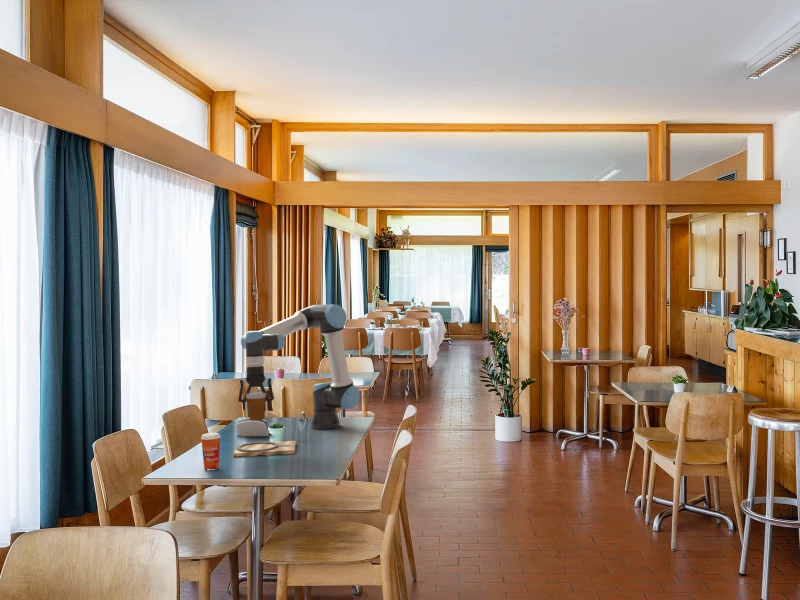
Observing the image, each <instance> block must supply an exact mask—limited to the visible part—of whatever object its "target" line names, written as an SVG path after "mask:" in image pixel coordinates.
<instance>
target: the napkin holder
mask: <svg viewBox="0 0 800 600" xmlns="http://www.w3.org/2000/svg"><path fill="white" fill-rule="evenodd" d="M268 426H269V427H270V425H269V422H268V420H266V419H265V418H264V419H263V420H259V421H251V420H250V418H249V417H248V418H246V417H245V418H243V419H239V421H237V423H236V437H269V436H270V435H269V431H268ZM238 435H240V436H238Z"/></svg>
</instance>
